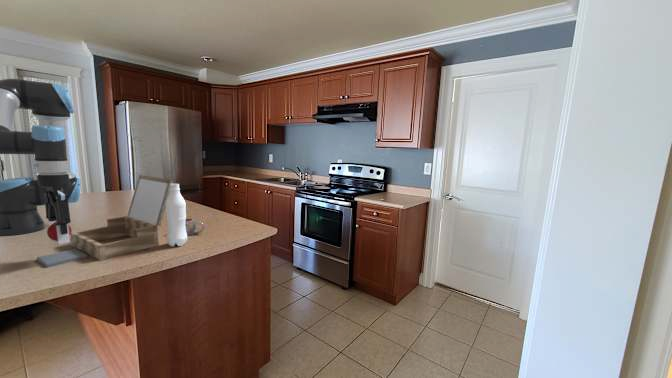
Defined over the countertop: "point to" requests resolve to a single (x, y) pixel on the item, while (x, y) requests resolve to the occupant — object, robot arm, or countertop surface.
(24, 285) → the countertop surface
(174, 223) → the water bottle
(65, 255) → the slate mat
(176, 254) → the countertop surface
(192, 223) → the mug
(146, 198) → the lid
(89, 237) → the box
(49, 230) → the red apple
